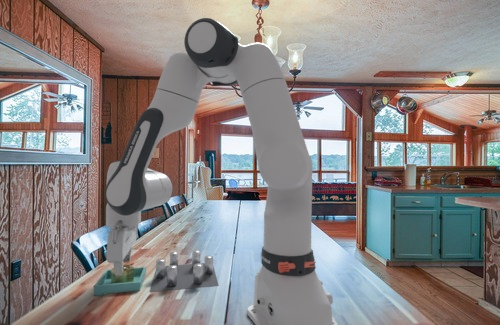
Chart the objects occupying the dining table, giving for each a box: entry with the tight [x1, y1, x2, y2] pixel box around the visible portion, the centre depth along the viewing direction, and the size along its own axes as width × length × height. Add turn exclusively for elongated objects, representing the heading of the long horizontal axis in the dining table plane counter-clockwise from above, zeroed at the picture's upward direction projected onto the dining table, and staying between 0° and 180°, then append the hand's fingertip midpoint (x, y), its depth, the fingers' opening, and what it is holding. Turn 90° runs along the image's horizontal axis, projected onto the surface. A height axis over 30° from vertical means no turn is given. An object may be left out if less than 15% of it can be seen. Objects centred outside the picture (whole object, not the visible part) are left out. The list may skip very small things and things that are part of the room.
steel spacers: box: [155, 249, 214, 287], centre depth 80 cm, size 15×17×5 cm
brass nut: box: [110, 264, 135, 284], centre depth 75 cm, size 6×5×4 cm
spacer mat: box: [149, 262, 220, 293], centre depth 80 cm, size 18×18×1 cm
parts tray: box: [93, 266, 147, 297], centre depth 75 cm, size 11×11×2 cm
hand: (123, 267), depth 75 cm, fingers open, 8 cm apart
